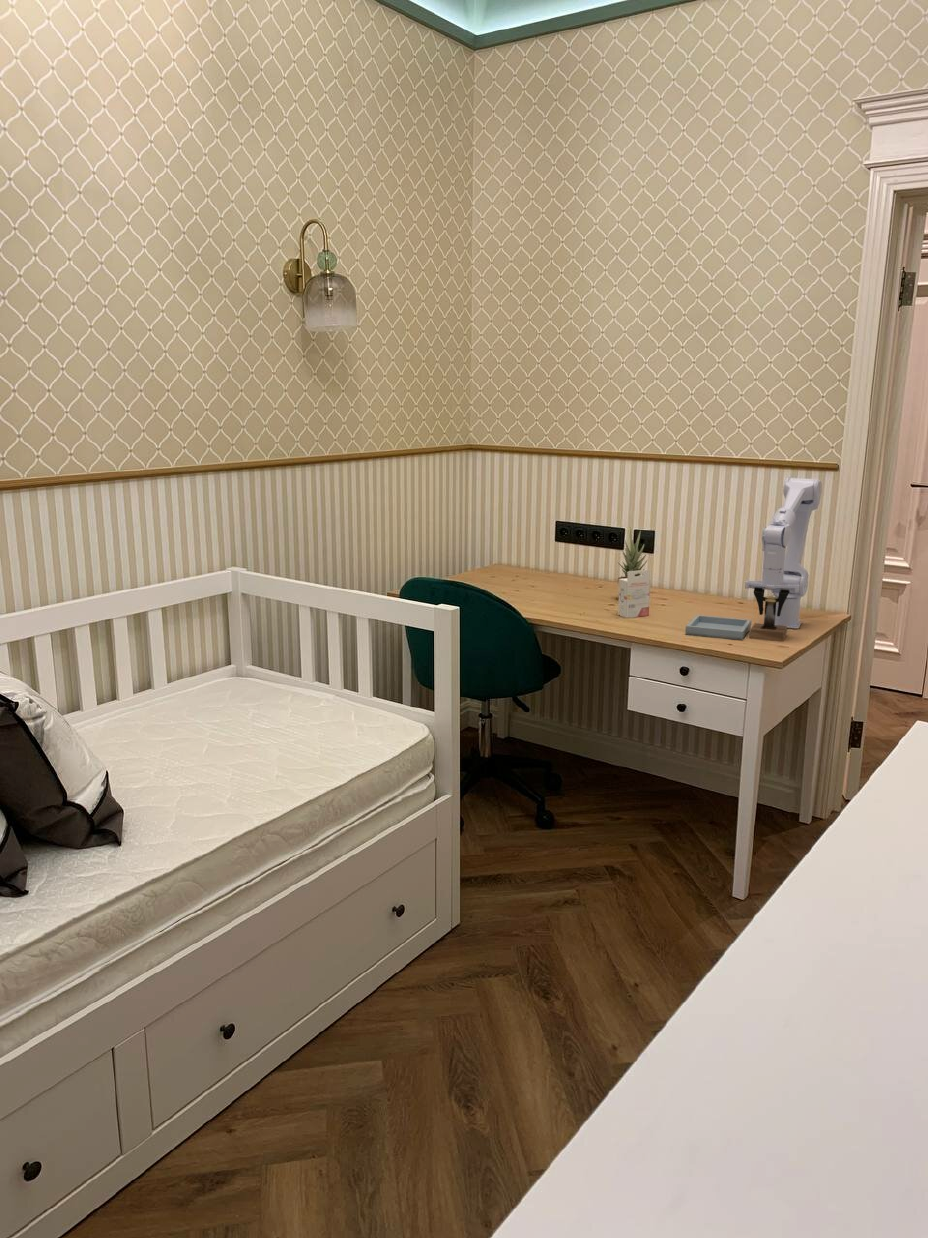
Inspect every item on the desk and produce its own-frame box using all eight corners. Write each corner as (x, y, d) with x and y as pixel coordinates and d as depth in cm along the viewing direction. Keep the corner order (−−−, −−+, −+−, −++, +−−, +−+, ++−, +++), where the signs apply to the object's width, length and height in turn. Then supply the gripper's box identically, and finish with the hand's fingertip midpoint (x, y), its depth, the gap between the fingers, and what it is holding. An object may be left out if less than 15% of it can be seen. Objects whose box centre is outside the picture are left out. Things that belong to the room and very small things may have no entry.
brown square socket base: (754, 631, 283) (754, 622, 283) (786, 634, 280) (787, 625, 279) (749, 638, 275) (750, 629, 275) (782, 641, 272) (783, 632, 271)
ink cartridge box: (640, 612, 307) (642, 567, 304) (649, 616, 303) (651, 569, 299) (617, 615, 304) (618, 568, 301) (625, 618, 299) (627, 571, 296)
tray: (696, 622, 294) (696, 614, 293) (750, 628, 287) (751, 619, 287) (685, 634, 279) (685, 626, 279) (742, 640, 273) (743, 631, 272)
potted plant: (636, 596, 332) (639, 524, 327) (650, 601, 324) (653, 528, 318) (610, 597, 329) (613, 525, 324) (623, 603, 321) (626, 529, 315)
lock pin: (762, 624, 280) (764, 595, 278) (777, 625, 278) (780, 597, 276) (760, 627, 276) (762, 598, 274) (776, 629, 274) (778, 600, 272)
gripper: (744, 568, 273) (741, 615, 276) (798, 572, 267) (795, 620, 270) (748, 564, 279) (745, 610, 282) (801, 568, 273) (797, 615, 276)
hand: (769, 614), depth 276 cm, fingers closed on lock pin, 4 cm apart
